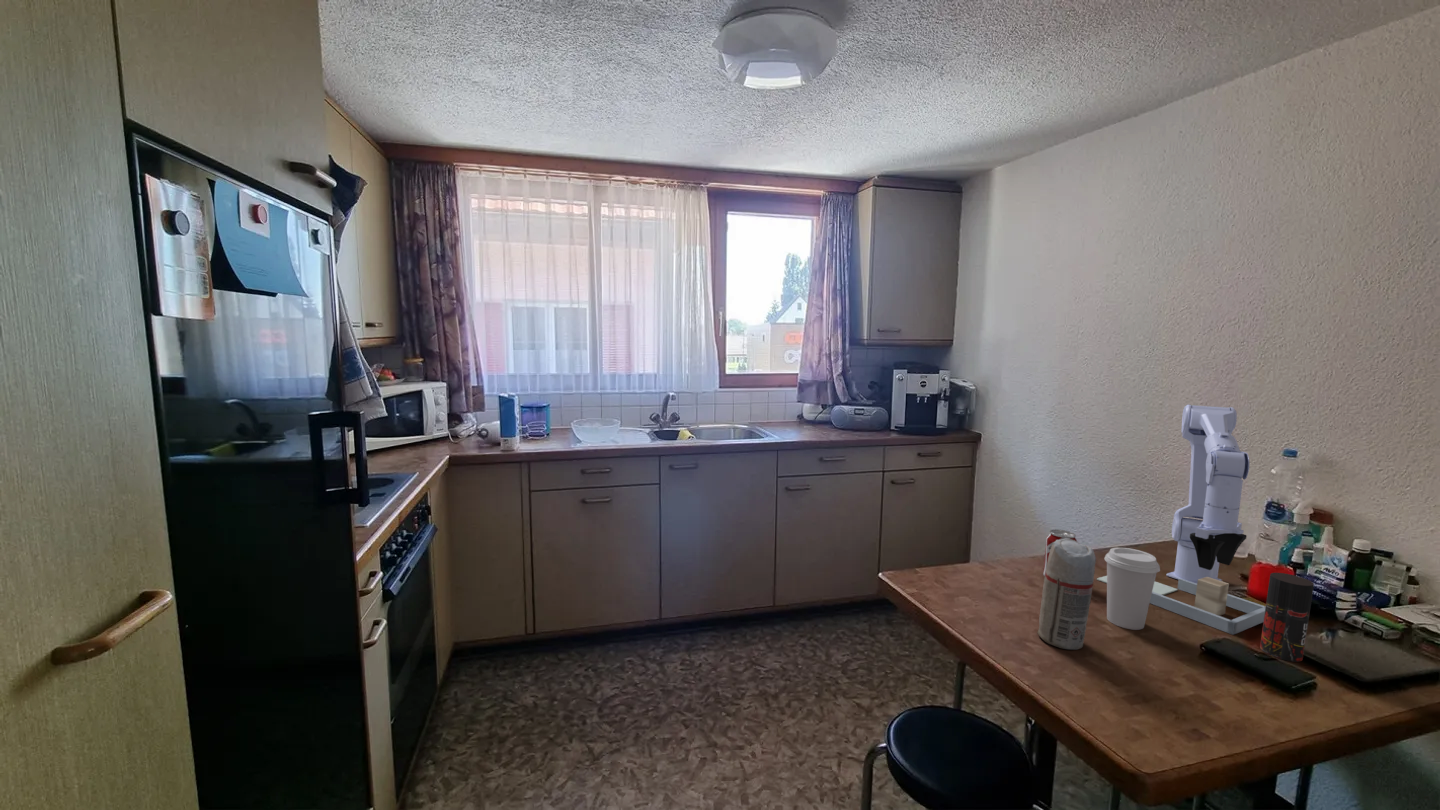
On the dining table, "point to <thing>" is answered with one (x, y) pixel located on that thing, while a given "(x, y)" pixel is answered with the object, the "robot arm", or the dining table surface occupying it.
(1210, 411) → the robot arm
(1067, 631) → the spray can
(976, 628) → the dining table surface
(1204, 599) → the block
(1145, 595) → the coffee cup
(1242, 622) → the frame
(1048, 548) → the soda can
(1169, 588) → the pad
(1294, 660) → the deodorant
